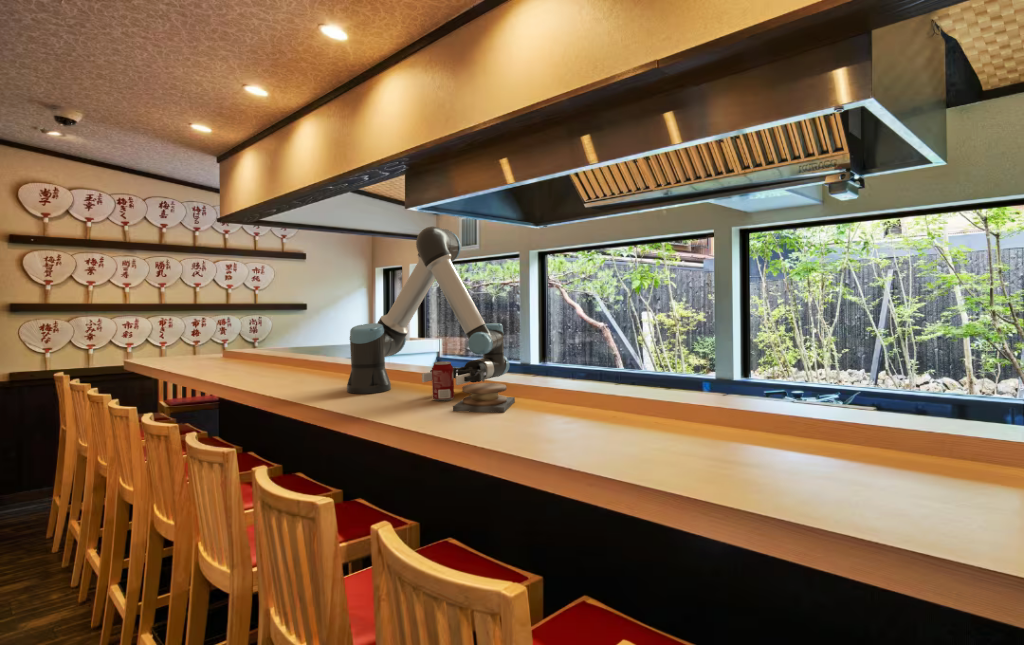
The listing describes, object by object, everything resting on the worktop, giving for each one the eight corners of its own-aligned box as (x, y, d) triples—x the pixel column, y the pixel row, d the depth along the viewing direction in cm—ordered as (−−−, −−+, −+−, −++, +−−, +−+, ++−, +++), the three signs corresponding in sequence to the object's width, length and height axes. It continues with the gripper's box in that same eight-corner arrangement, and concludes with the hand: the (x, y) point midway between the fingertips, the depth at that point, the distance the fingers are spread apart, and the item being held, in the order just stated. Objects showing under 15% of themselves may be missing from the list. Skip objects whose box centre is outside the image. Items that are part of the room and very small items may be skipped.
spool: (453, 411, 161) (452, 390, 161) (467, 401, 176) (467, 382, 175) (504, 412, 158) (503, 391, 158) (514, 402, 173) (514, 382, 172)
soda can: (452, 401, 175) (451, 363, 175) (431, 402, 176) (429, 364, 175) (455, 397, 182) (454, 360, 182) (434, 398, 182) (433, 361, 182)
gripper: (509, 383, 188) (472, 394, 170) (450, 378, 201) (410, 388, 183) (508, 361, 188) (471, 369, 170) (449, 358, 201) (409, 365, 183)
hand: (439, 379), depth 177 cm, fingers open, 13 cm apart
